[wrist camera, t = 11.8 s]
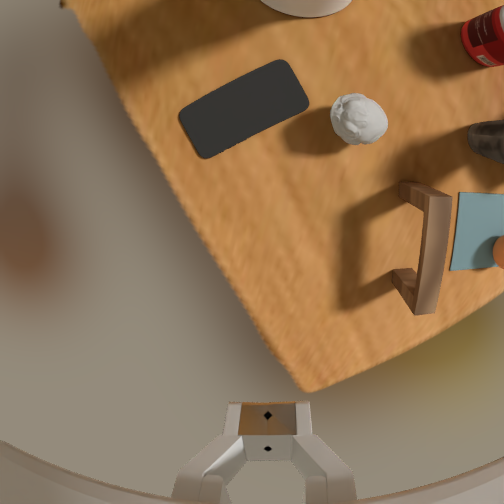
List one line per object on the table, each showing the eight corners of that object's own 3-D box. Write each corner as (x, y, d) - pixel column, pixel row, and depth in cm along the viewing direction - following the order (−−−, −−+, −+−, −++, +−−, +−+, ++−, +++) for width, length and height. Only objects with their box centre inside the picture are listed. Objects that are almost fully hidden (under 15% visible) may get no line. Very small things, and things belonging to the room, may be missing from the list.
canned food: (505, 63, 28) (551, 56, 18) (473, 72, 30) (521, 64, 20) (484, 18, 26) (526, 2, 15) (450, 24, 27) (492, 4, 17)
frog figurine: (325, 91, 34) (336, 83, 27) (379, 103, 34) (400, 99, 27) (319, 138, 36) (329, 139, 29) (373, 149, 36) (392, 153, 29)
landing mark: (459, 192, 36) (460, 192, 36) (514, 195, 35) (514, 195, 35) (449, 270, 41) (450, 270, 41) (503, 265, 40) (503, 265, 39)
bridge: (391, 281, 42) (414, 315, 34) (399, 181, 37) (429, 196, 28) (410, 280, 42) (434, 313, 33) (419, 182, 37) (452, 196, 28)
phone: (312, 107, 34) (203, 162, 38) (312, 108, 35) (204, 161, 38) (284, 56, 32) (175, 112, 35) (283, 57, 33) (177, 112, 36)
